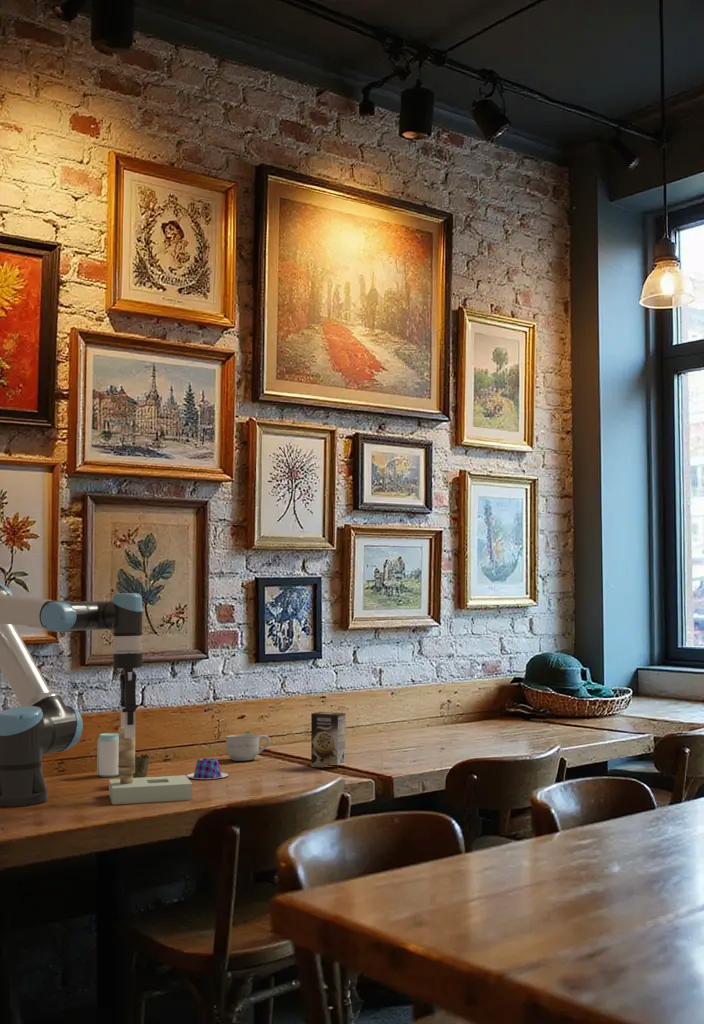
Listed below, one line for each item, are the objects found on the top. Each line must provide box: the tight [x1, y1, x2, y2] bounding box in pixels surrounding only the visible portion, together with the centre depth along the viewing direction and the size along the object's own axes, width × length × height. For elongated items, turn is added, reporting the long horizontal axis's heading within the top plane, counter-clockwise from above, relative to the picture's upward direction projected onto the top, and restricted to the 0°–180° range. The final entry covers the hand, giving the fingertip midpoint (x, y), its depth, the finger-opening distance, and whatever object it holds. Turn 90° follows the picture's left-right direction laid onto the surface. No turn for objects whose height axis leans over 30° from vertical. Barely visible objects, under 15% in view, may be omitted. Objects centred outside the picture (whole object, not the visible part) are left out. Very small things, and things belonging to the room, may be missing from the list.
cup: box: [133, 753, 150, 778], centre depth 295 cm, size 8×7×8 cm
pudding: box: [186, 757, 229, 780], centre depth 307 cm, size 12×12×5 cm
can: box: [96, 732, 120, 778], centre depth 311 cm, size 7×7×12 cm
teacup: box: [225, 733, 271, 762], centre depth 339 cm, size 14×11×8 cm
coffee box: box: [310, 711, 346, 768], centre depth 325 cm, size 9×6×16 cm
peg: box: [118, 726, 136, 784], centre depth 275 cm, size 4×4×14 cm
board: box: [108, 774, 193, 805], centre depth 276 cm, size 20×14×4 cm
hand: (128, 735), depth 275 cm, fingers open, 13 cm apart
